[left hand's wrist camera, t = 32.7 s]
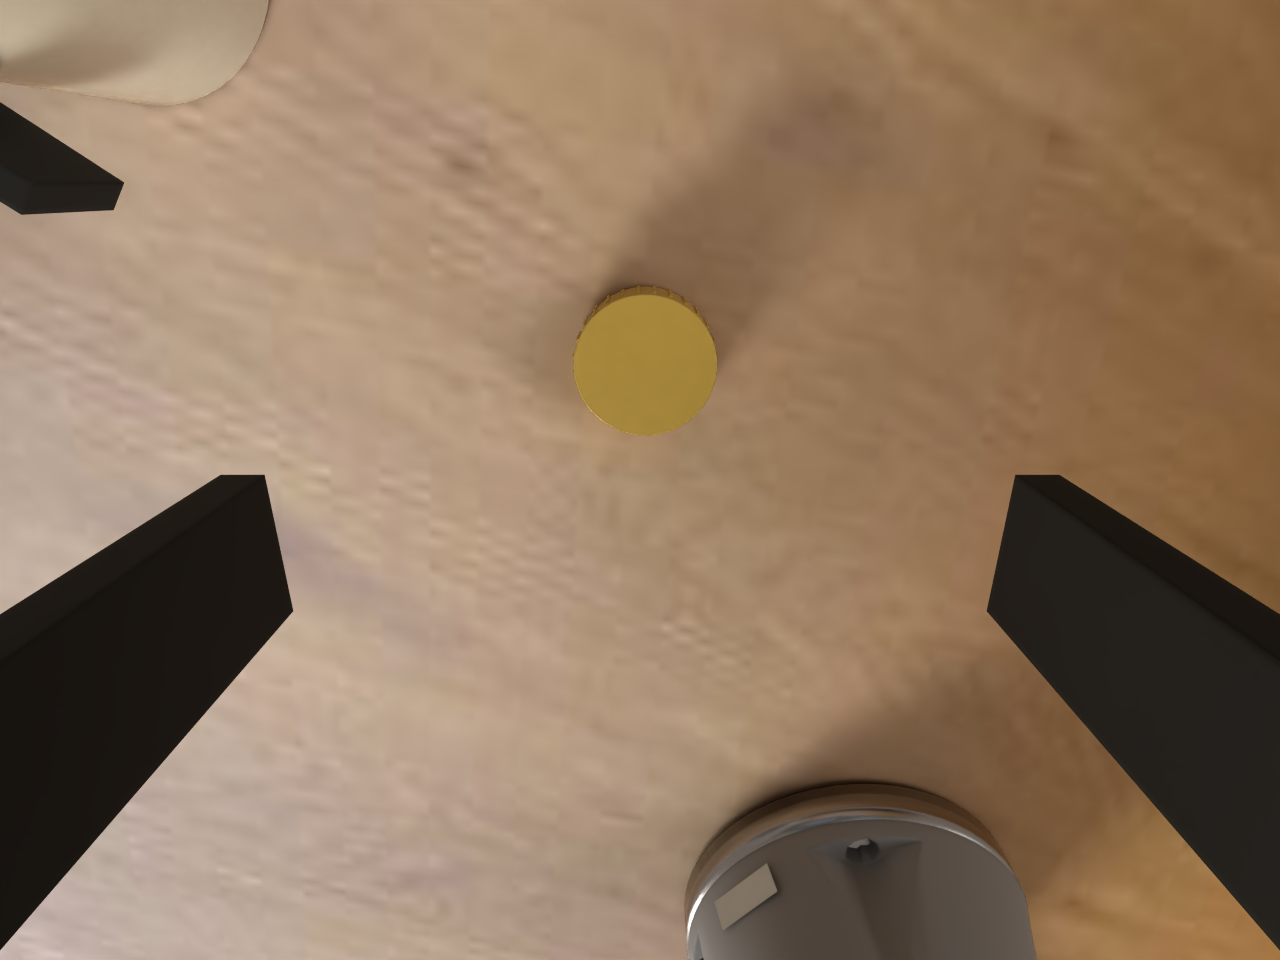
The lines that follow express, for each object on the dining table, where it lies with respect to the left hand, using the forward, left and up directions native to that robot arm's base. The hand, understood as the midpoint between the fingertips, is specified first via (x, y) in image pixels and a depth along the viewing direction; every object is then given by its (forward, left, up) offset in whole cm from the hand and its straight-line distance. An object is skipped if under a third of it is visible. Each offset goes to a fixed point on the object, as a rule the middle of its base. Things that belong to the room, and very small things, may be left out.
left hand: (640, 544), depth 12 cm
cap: (0, -1, -10) cm, 10 cm away
